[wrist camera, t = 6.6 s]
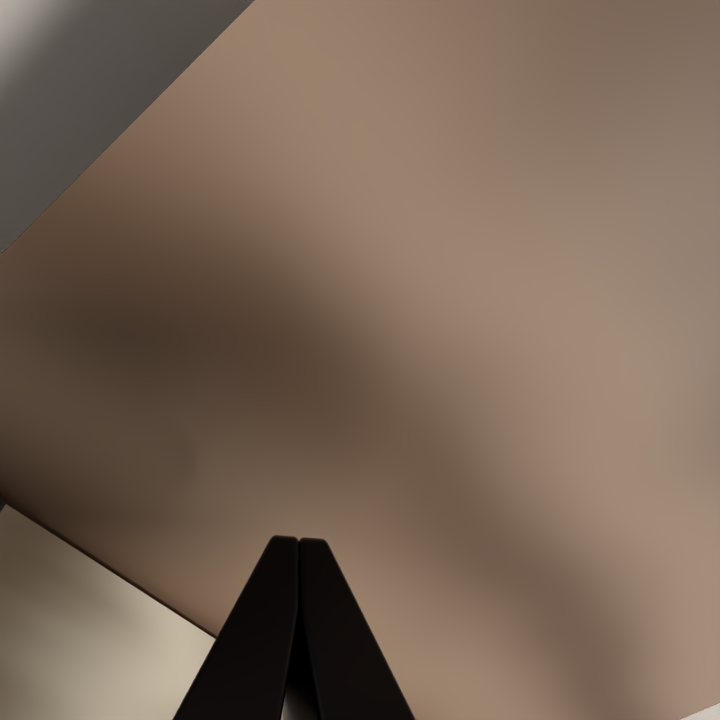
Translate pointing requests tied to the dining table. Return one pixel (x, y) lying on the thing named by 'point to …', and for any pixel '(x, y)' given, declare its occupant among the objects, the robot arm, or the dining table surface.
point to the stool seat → (404, 342)
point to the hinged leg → (84, 636)
